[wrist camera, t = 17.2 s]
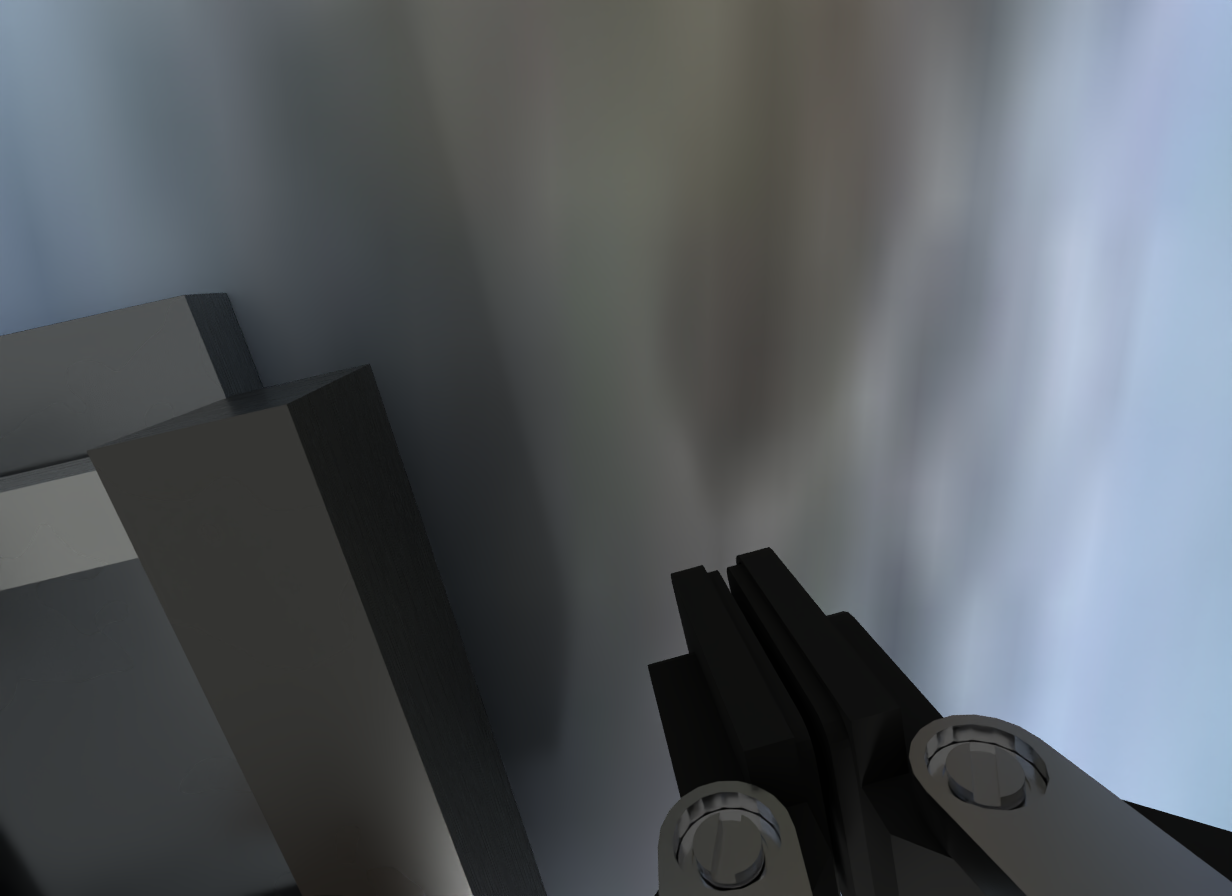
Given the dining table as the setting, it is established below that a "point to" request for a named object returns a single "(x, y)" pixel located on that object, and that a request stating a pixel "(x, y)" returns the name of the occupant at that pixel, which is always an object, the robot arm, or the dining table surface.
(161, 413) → the vise
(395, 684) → the sliding jaw
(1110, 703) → the dining table surface
